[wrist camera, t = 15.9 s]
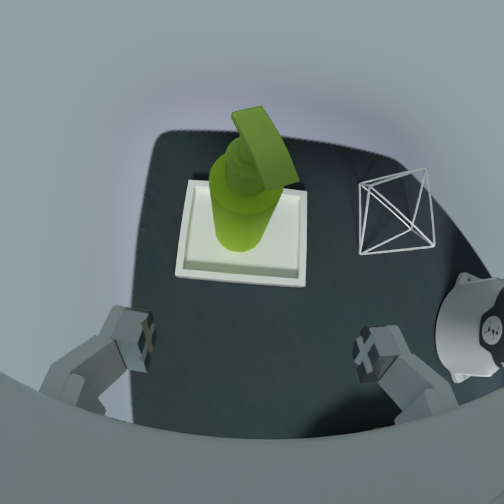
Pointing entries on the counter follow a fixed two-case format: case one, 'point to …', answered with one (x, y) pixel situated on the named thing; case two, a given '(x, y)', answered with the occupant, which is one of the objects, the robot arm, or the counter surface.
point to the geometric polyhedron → (393, 212)
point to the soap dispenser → (249, 180)
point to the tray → (250, 262)
